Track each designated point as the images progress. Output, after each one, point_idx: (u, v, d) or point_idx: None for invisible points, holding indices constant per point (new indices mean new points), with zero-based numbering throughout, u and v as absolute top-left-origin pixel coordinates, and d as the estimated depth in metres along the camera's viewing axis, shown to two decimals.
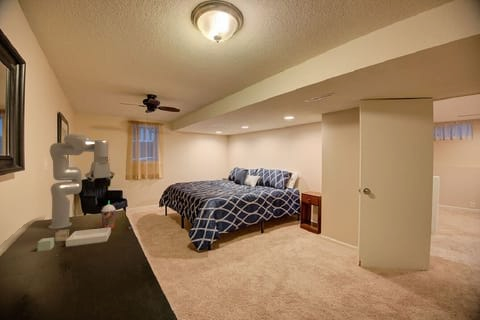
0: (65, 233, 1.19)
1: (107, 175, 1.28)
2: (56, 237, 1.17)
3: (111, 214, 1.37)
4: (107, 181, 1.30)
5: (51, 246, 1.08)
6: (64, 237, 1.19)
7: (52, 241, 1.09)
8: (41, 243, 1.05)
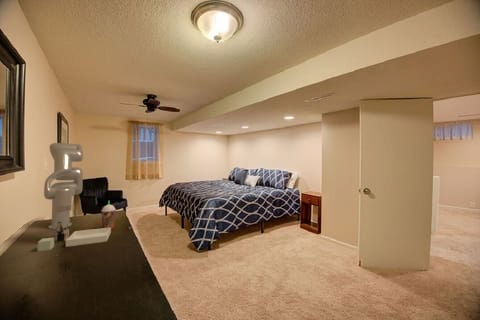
0: (65, 233, 1.19)
1: (68, 223, 1.24)
2: (56, 237, 1.17)
3: (111, 214, 1.37)
4: None
5: (51, 246, 1.08)
6: (64, 237, 1.19)
7: (52, 241, 1.09)
8: (41, 243, 1.05)
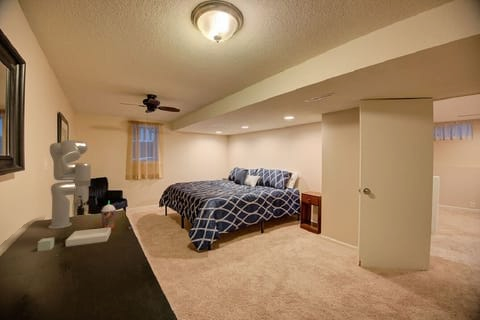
0: (85, 208, 1.19)
1: (87, 199, 1.24)
2: (76, 211, 1.17)
3: (111, 214, 1.37)
4: None
5: (51, 246, 1.08)
6: (84, 212, 1.18)
7: (52, 241, 1.09)
8: (41, 243, 1.05)
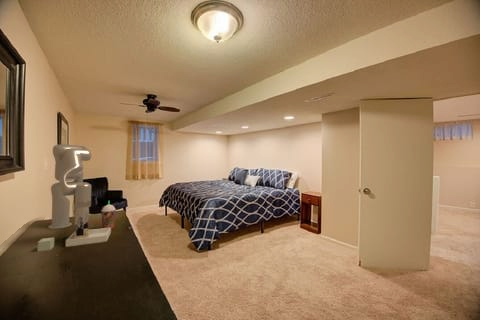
0: (85, 232, 1.19)
1: (88, 219, 1.23)
2: (76, 236, 1.17)
3: (111, 214, 1.37)
4: (84, 225, 1.24)
5: (51, 246, 1.08)
6: (84, 236, 1.18)
7: (52, 241, 1.09)
8: (41, 243, 1.05)
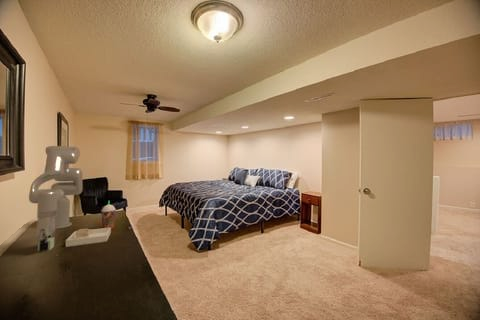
0: (85, 232, 1.19)
1: (53, 230, 1.11)
2: (76, 236, 1.17)
3: (111, 214, 1.37)
4: None
5: (51, 246, 1.08)
6: (84, 236, 1.18)
7: (52, 241, 1.09)
8: None
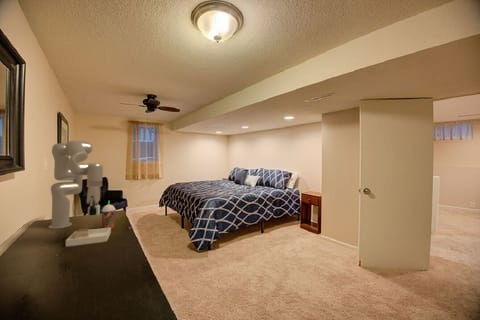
0: (85, 232, 1.19)
1: (99, 199, 1.25)
2: (76, 236, 1.17)
3: (111, 214, 1.37)
4: None
5: (98, 212, 1.22)
6: (84, 236, 1.18)
7: (99, 208, 1.23)
8: None
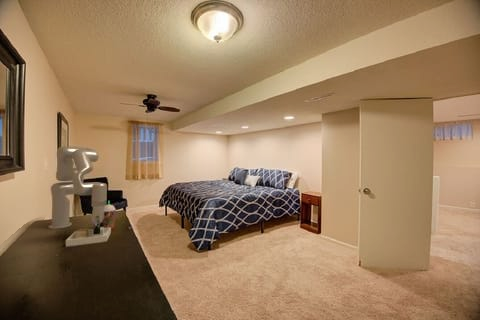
0: (85, 232, 1.19)
1: (103, 217, 1.27)
2: (76, 236, 1.17)
3: (111, 214, 1.37)
4: (99, 224, 1.27)
5: (102, 234, 1.23)
6: (84, 236, 1.18)
7: (103, 230, 1.24)
8: None
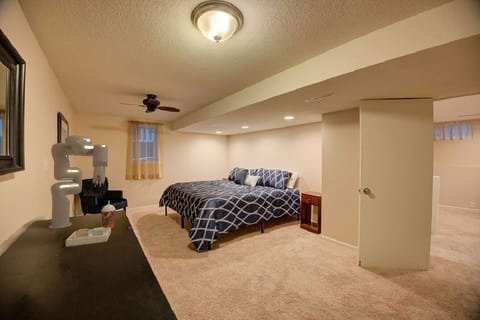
0: (85, 232, 1.19)
1: (104, 180, 1.27)
2: (76, 236, 1.17)
3: (111, 214, 1.37)
4: (100, 186, 1.28)
5: (102, 234, 1.23)
6: (84, 236, 1.18)
7: (103, 230, 1.24)
8: (95, 231, 1.20)
